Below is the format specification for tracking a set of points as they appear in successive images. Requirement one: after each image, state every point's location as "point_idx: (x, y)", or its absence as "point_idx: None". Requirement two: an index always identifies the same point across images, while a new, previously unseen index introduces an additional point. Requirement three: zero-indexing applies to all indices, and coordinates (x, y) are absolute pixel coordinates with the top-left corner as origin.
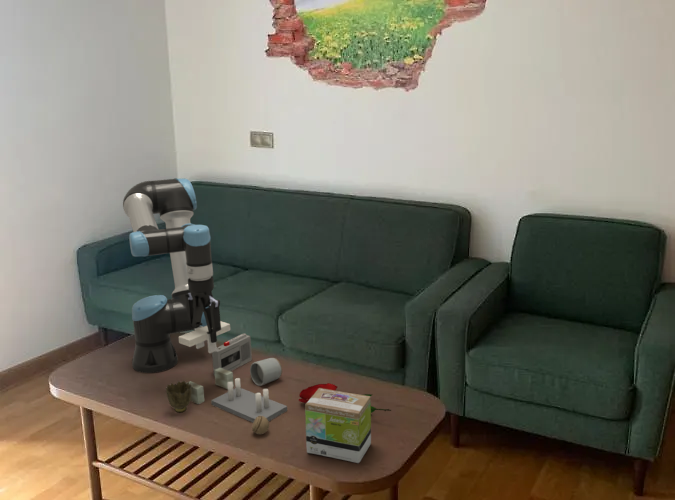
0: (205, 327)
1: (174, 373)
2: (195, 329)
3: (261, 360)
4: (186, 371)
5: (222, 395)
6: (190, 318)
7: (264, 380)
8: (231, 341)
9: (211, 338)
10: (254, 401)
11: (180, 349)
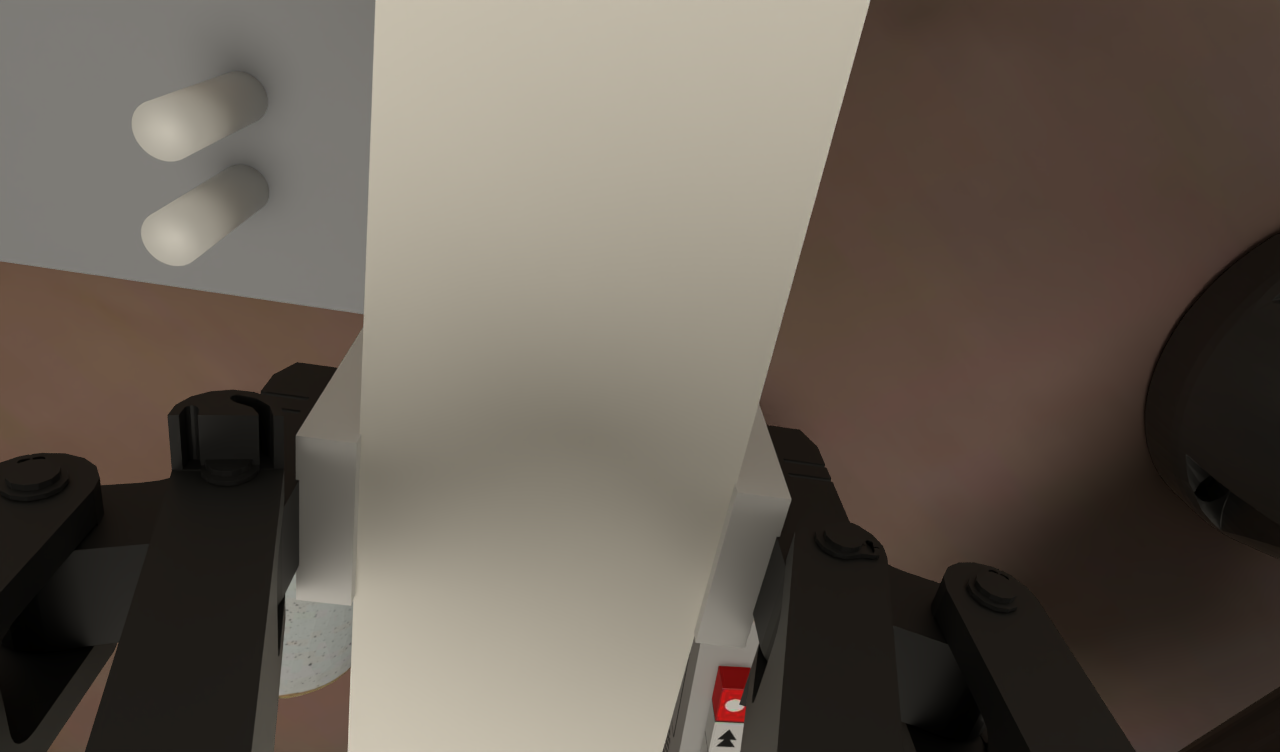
0: (634, 640)
1: (1079, 313)
2: (756, 488)
3: (292, 619)
4: (1000, 380)
5: (370, 123)
6: (994, 689)
7: None
8: (710, 737)
9: (301, 407)
10: (35, 162)
11: (1235, 615)
